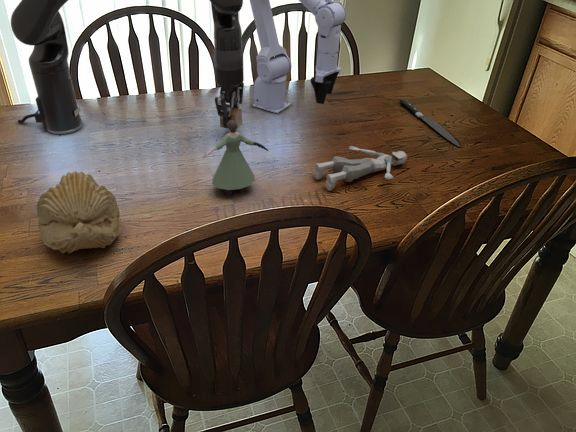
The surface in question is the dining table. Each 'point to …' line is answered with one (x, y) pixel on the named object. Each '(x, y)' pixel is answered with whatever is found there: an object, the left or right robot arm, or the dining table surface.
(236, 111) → the brown cube-like block
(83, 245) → the fossil
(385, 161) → the figurine
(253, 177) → the character figurine
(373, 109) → the dining table surface
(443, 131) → the knife
